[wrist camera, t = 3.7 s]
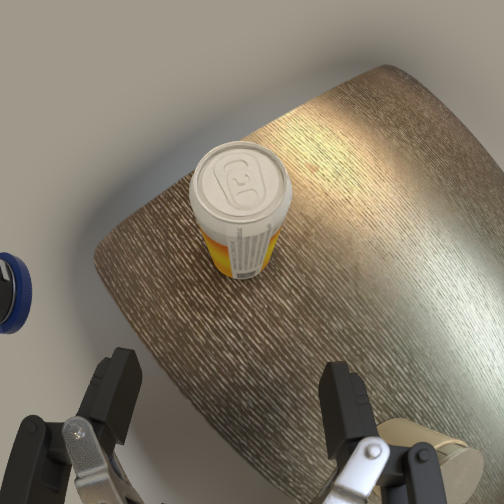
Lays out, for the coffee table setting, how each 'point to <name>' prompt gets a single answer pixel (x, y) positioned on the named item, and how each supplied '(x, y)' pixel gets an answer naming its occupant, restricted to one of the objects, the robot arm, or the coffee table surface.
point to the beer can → (240, 205)
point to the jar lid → (460, 471)
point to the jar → (410, 436)
